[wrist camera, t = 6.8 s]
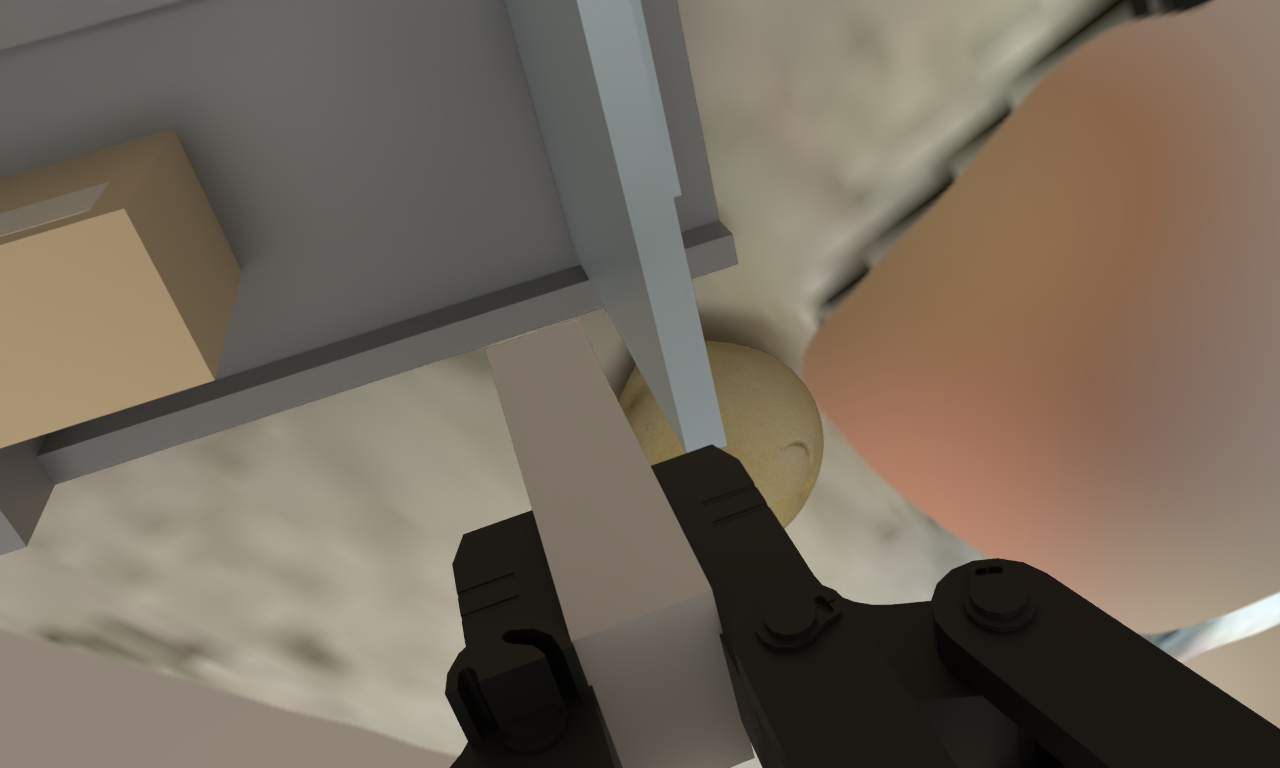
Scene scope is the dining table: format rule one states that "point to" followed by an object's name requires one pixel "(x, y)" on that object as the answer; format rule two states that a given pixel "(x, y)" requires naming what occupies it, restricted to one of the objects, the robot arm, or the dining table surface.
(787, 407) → the potato
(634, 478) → the robot arm
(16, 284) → the stock carton
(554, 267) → the lane
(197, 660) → the dining table surface
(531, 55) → the grey bookend
